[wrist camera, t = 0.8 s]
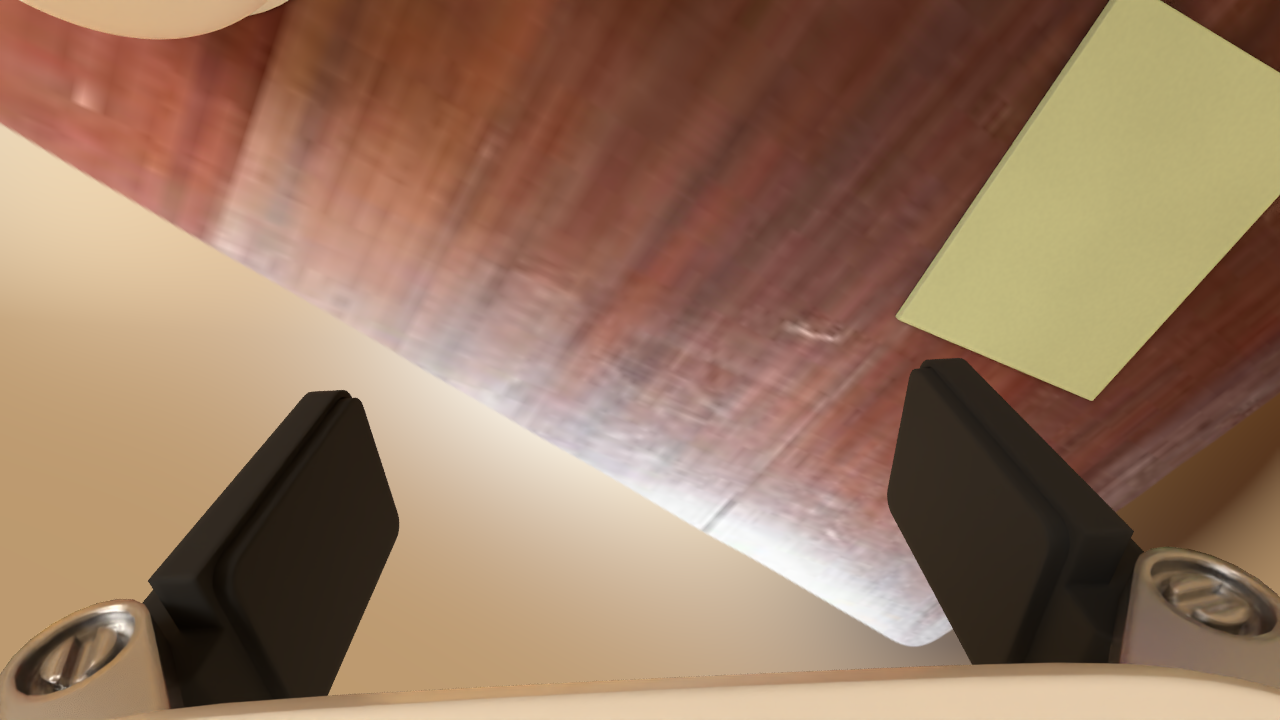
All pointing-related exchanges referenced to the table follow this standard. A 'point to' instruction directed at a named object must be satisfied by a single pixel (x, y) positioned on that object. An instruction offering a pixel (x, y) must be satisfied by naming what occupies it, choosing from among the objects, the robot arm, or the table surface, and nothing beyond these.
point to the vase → (153, 15)
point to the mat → (1109, 201)
